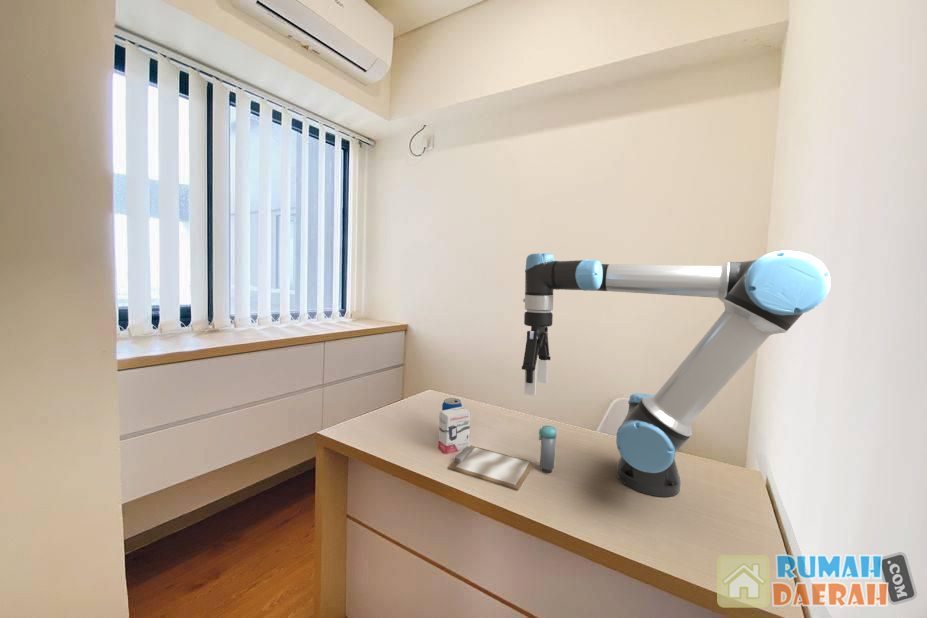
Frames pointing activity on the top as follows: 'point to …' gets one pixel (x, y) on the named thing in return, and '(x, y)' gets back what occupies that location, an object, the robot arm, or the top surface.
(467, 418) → the ink box
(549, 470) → the marker
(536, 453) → the top surface
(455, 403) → the beverage can
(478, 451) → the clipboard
